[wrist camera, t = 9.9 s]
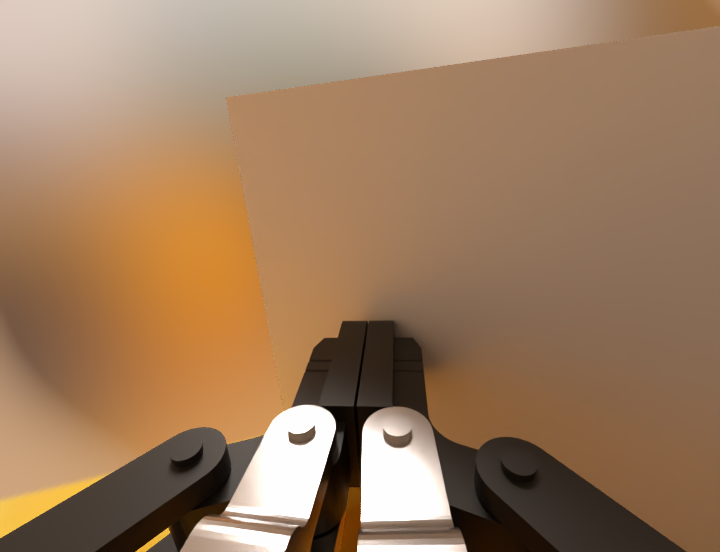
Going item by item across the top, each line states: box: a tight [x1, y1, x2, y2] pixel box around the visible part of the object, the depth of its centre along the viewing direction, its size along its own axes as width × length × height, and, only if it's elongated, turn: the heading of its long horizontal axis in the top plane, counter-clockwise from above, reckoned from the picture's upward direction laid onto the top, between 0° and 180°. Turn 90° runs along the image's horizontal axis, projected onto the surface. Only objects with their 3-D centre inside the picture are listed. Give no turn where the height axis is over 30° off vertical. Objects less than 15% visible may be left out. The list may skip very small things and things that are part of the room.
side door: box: [226, 26, 720, 552], centre depth 10 cm, size 2×17×14 cm, turn 56°
